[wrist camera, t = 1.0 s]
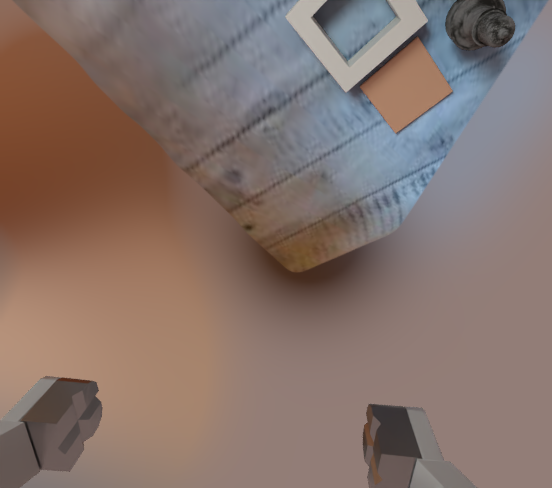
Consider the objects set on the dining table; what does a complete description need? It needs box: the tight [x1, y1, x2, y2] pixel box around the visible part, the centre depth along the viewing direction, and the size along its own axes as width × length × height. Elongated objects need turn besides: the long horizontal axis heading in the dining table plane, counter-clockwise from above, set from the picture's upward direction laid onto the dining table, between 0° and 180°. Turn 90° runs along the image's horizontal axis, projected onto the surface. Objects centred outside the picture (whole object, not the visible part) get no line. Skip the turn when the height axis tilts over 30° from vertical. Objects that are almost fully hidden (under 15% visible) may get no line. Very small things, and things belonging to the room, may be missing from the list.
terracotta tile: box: [360, 36, 452, 133], centre depth 50 cm, size 9×9×1 cm
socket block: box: [285, 0, 428, 92], centre depth 44 cm, size 12×12×4 cm
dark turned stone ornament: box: [445, 0, 515, 51], centre depth 39 cm, size 6×6×12 cm
